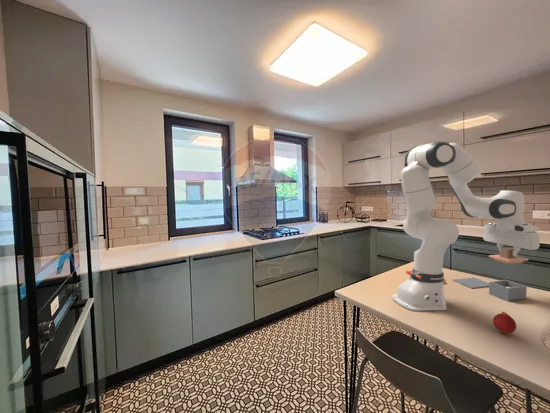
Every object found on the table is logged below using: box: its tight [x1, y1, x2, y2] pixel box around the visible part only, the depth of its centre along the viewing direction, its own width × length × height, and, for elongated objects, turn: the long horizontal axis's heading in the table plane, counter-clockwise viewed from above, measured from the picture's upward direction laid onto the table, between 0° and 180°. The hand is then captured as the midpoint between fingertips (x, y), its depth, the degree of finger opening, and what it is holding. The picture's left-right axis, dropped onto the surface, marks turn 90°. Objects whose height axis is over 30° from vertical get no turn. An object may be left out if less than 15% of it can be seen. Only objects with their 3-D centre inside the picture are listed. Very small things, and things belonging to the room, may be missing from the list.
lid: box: [488, 247, 529, 265], centre depth 107 cm, size 10×8×6 cm
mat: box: [452, 277, 489, 290], centre depth 124 cm, size 14×11×1 cm
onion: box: [492, 311, 517, 335], centre depth 82 cm, size 6×6×8 cm
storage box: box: [488, 279, 528, 302], centre depth 108 cm, size 10×8×6 cm
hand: (508, 254), depth 107 cm, fingers closed on lid, 3 cm apart
